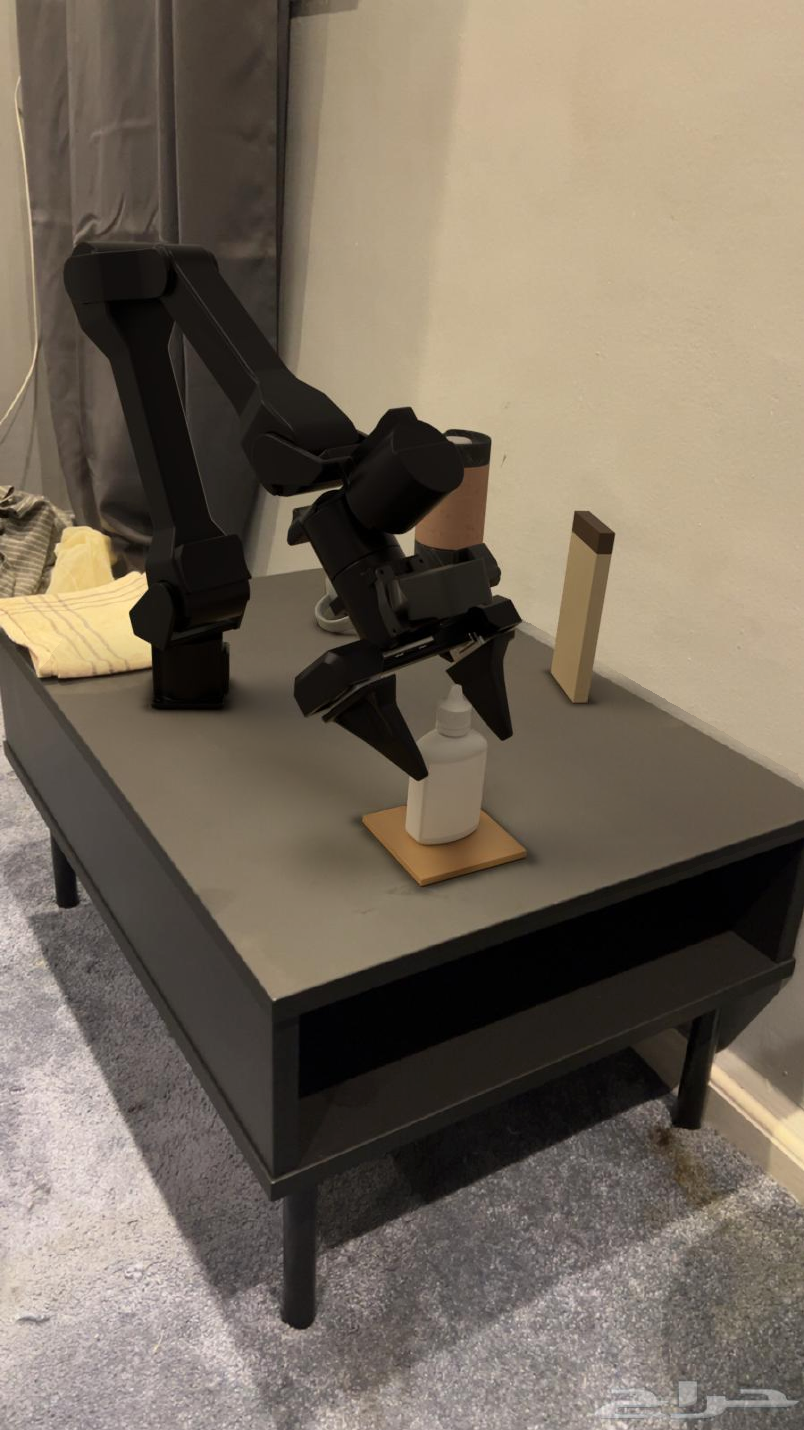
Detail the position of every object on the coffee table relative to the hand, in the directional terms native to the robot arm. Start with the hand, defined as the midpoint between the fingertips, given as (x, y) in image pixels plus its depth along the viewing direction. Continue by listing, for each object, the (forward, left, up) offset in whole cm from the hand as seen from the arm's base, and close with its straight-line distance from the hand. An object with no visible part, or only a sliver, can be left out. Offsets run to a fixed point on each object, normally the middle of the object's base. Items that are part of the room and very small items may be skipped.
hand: (467, 757), depth 75 cm
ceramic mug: (-3, +44, -8) cm, 45 cm away
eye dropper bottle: (-1, +1, -7) cm, 7 cm away
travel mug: (+7, +48, -8) cm, 49 cm away
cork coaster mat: (-1, +1, -8) cm, 8 cm away
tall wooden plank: (+16, +28, -8) cm, 33 cm away
